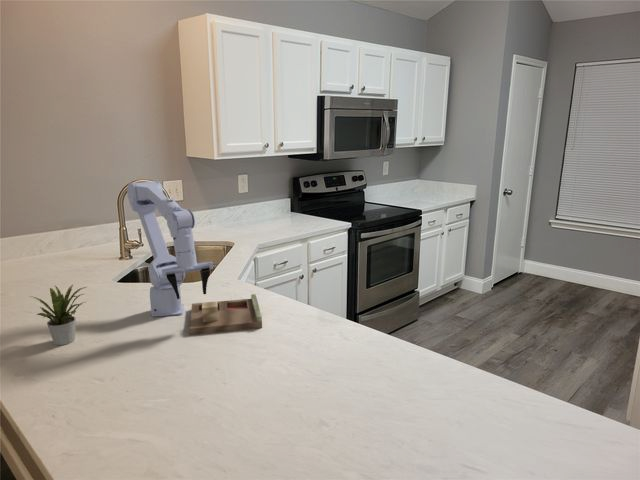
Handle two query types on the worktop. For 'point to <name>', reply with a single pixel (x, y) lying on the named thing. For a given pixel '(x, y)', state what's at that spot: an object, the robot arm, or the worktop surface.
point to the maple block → (209, 311)
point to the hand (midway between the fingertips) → (191, 296)
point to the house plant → (61, 316)
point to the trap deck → (227, 317)
